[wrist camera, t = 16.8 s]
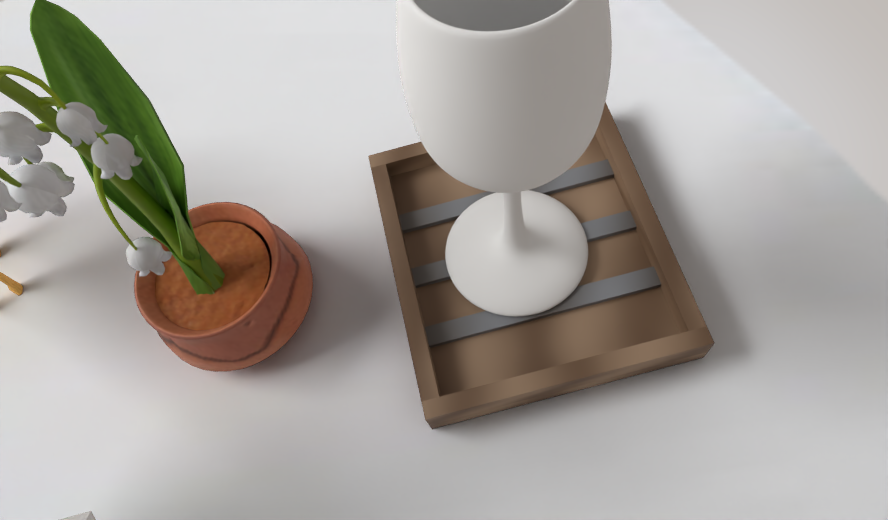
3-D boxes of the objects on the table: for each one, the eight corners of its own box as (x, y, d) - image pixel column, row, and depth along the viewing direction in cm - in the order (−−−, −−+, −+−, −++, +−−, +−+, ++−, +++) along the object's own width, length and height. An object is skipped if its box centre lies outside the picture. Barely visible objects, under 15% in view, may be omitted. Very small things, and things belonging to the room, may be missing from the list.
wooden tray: (432, 428, 37) (425, 419, 35) (376, 176, 45) (368, 155, 43) (703, 357, 37) (714, 343, 34) (598, 117, 45) (601, 93, 43)
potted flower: (347, 369, 39) (98, 96, 17) (191, 433, 39) (-278, 237, 16) (299, 215, 45) (61, -147, 22) (161, 268, 44) (-223, -46, 22)
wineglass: (602, 207, 40) (660, -115, 21) (567, 334, 37) (600, 84, 18) (470, 179, 42) (417, -136, 24) (426, 296, 39) (325, 38, 20)
